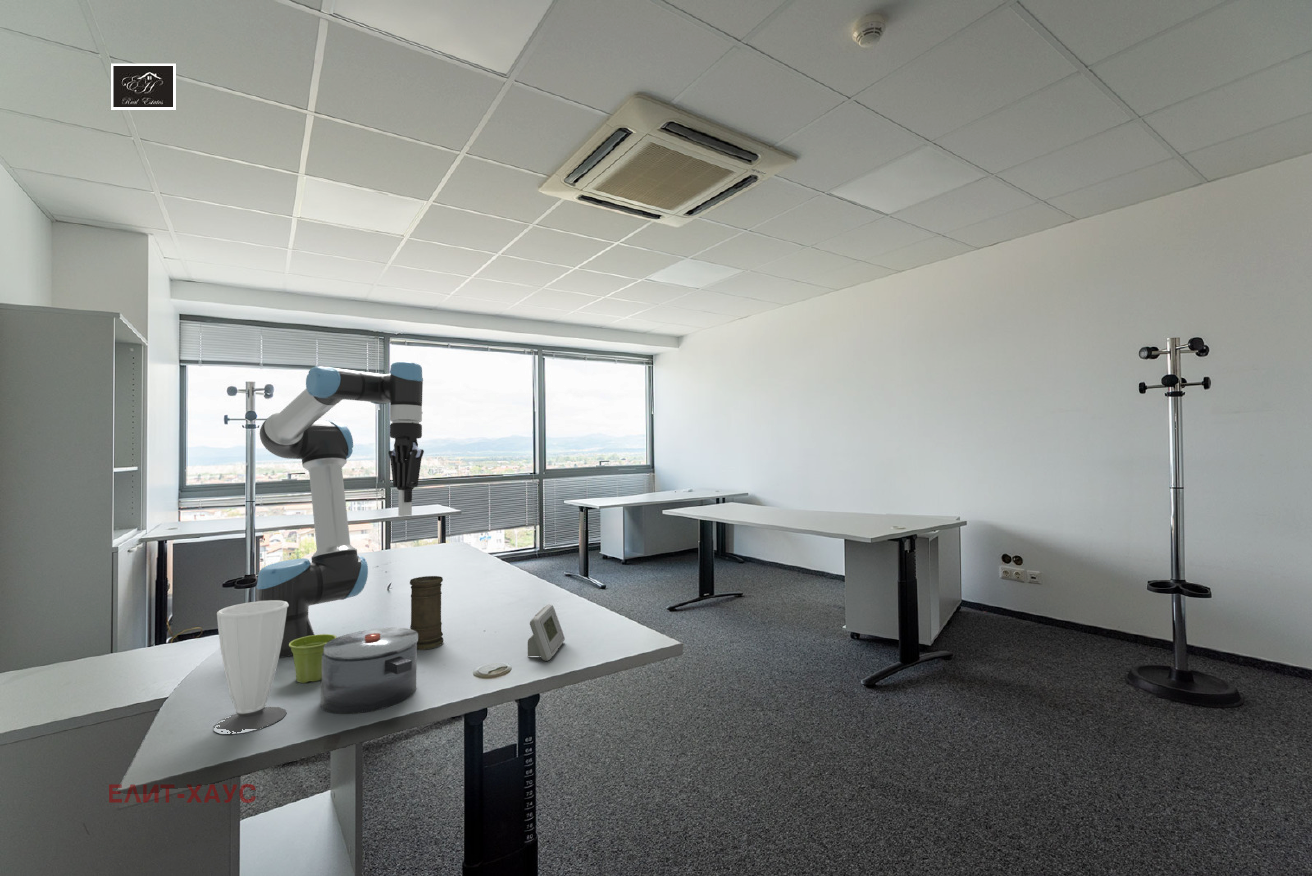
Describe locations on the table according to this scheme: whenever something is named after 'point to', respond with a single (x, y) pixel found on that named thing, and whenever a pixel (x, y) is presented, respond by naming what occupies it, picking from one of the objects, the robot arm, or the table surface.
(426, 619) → the container
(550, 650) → the digital clock
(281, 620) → the cup
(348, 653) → the pot lid
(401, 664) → the cooking pot
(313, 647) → the plant pot
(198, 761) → the table surface
